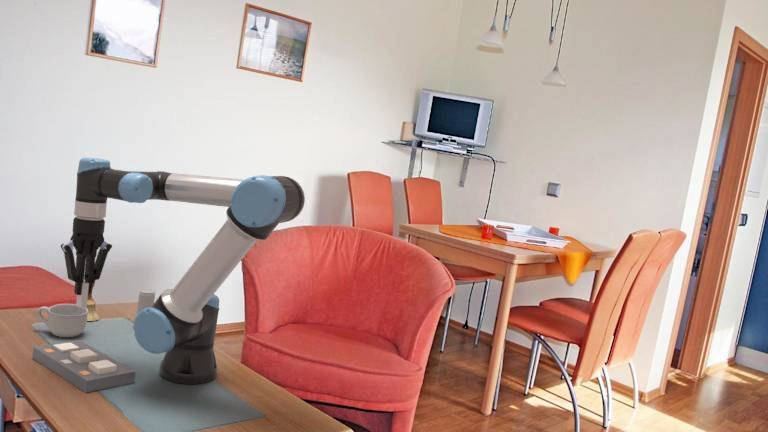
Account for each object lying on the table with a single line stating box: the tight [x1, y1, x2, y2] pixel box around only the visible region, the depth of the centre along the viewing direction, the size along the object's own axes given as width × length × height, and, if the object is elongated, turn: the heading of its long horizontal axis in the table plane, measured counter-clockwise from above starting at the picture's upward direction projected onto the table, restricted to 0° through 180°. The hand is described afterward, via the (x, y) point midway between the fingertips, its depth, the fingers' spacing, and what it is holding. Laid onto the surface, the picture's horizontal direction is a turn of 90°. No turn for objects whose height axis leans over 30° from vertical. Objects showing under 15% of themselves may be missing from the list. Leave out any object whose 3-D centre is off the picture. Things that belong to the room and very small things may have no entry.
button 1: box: [53, 341, 80, 353], centre depth 181 cm, size 5×5×2 cm
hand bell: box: [86, 280, 101, 322], centre depth 218 cm, size 8×8×16 cm
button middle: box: [70, 349, 98, 364], centre depth 176 cm, size 5×5×2 cm
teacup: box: [36, 303, 88, 338], centre depth 200 cm, size 14×11×8 cm
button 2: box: [88, 360, 117, 375], centre depth 171 cm, size 5×5×2 cm
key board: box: [32, 339, 136, 394], centre depth 176 cm, size 27×13×3 cm, turn 52°
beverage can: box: [136, 288, 156, 315], centre depth 218 cm, size 5×5×12 cm
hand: (81, 306), depth 178 cm, fingers closed
